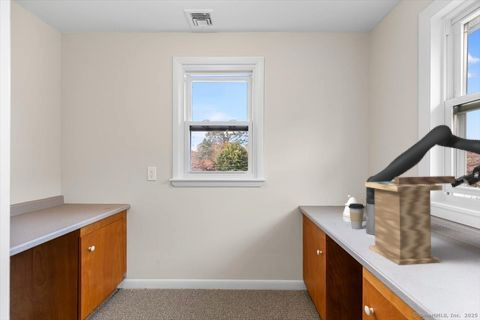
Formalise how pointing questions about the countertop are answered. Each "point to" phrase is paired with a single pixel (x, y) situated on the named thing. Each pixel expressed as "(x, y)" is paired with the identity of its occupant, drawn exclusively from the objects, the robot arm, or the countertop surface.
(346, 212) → the honey pot
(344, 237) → the countertop surface
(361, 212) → the coffee cup
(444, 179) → the walnut bar
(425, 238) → the oak lectern
